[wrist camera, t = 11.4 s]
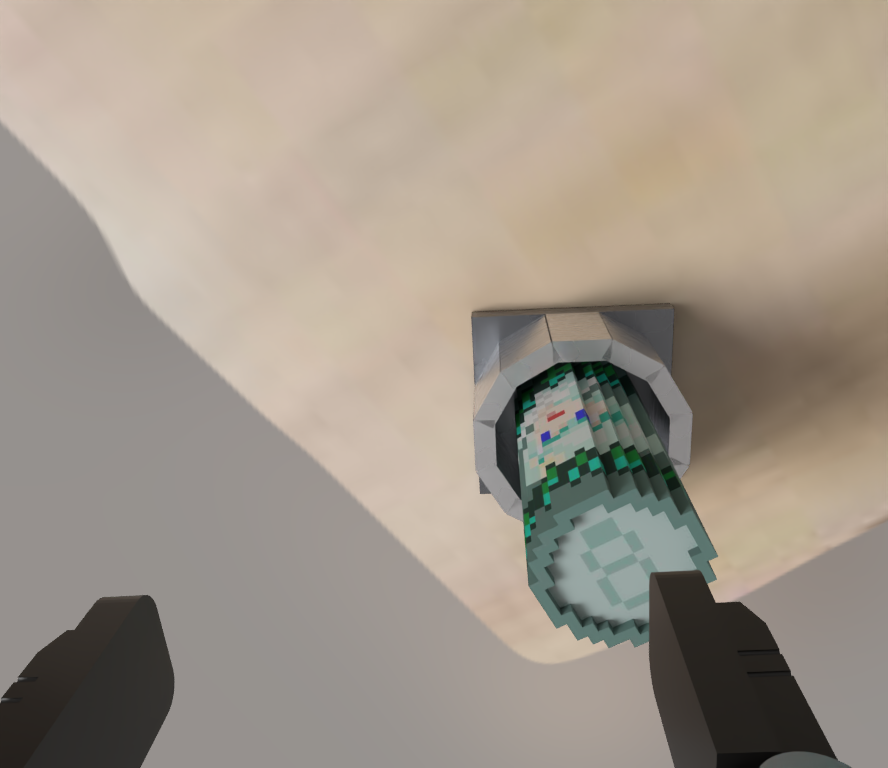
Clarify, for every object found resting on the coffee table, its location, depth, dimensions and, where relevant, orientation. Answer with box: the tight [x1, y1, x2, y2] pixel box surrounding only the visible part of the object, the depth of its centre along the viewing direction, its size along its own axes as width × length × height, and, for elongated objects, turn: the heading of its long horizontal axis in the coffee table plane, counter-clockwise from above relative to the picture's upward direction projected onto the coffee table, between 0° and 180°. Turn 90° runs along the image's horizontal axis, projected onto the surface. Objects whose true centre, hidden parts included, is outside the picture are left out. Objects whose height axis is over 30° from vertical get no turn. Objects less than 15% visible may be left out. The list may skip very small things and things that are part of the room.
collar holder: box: [471, 303, 693, 522], centre depth 39 cm, size 10×10×6 cm
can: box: [514, 361, 718, 648], centre depth 33 cm, size 6×6×15 cm
